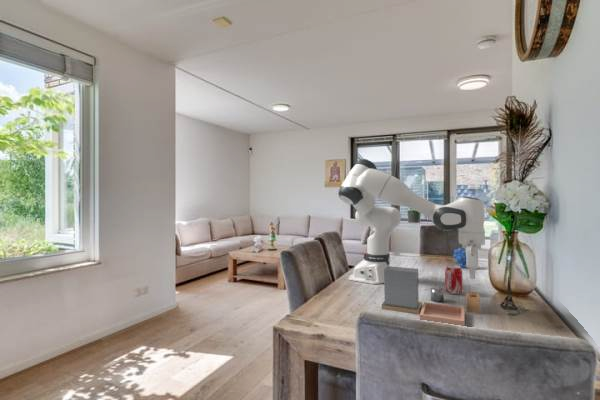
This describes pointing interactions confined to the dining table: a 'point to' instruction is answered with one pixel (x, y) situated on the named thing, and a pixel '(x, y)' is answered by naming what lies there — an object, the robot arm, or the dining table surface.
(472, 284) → the dining table surface
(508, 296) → the eiffel tower figurine
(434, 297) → the steel cylinder
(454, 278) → the soda can
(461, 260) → the grapes
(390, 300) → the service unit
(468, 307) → the oak wood brick
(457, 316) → the tray
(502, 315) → the dining table surface
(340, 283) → the dining table surface
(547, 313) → the dining table surface
